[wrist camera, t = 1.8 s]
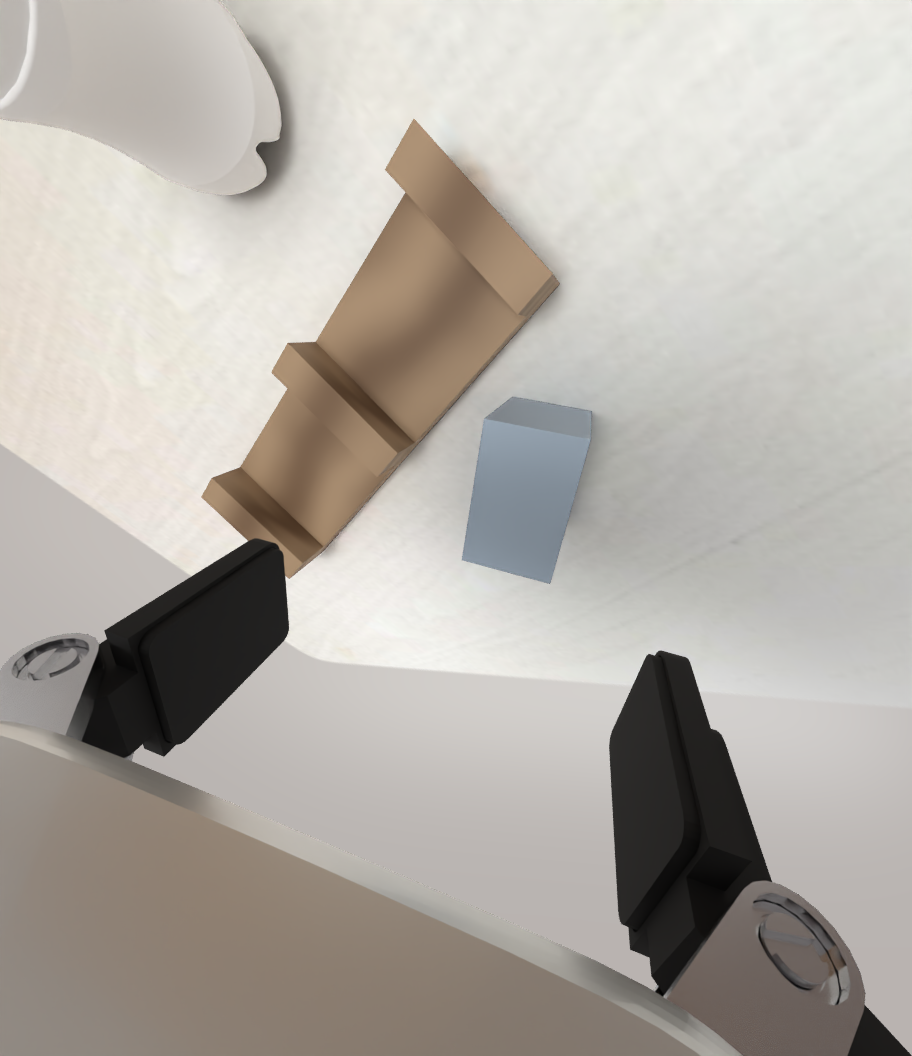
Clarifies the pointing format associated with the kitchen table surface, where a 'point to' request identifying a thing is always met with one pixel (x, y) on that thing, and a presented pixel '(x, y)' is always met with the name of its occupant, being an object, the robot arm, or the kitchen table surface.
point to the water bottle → (144, 84)
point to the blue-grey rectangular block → (525, 486)
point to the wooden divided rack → (385, 358)
